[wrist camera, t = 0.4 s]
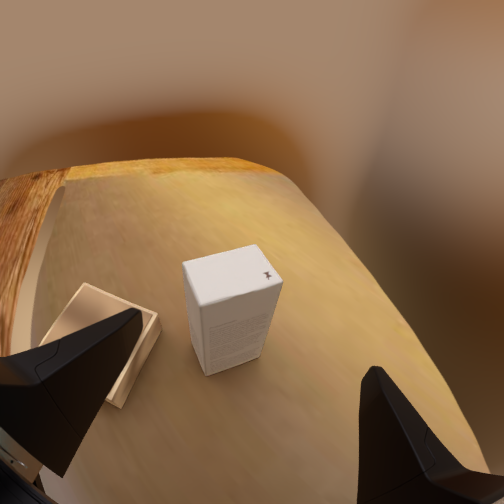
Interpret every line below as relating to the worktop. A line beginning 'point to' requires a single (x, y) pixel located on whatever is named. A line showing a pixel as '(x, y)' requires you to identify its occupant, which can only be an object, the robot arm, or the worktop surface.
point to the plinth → (96, 309)
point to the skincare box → (230, 306)
